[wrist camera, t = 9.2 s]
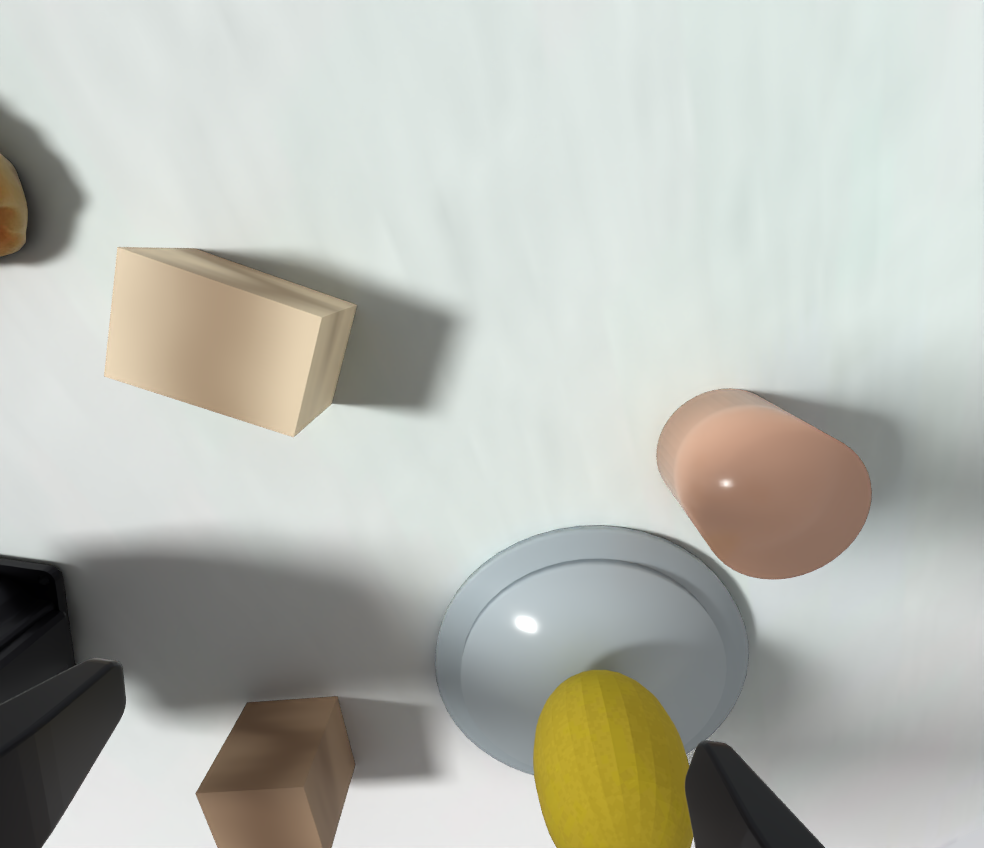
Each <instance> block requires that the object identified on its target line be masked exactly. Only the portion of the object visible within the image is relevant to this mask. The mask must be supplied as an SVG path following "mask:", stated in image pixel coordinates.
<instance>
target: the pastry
mask: <svg viewBox="0 0 984 848" xmlns="http://www.w3.org/2000/svg"><path fill="white" fill-rule="evenodd" d="M27 221H28V208H27V203H26V199H25V195H24V192H23V189H22V186H21V183H20V180H19V177H18V175H17V172H16V170H15V168H14V166H13V165H12V164H11V162H10V161H8V160H7V159H6V158H5V157H4V156H3V155H2V154H1V153H0V257H1V256H5V255H8V254H12V253H15V252H17V251H19V250H20V249H21V248H22V246H23V245H24V244H25V243H26V228H27Z"/></svg>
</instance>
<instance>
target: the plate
mask: <svg viewBox="0 0 984 848" xmlns="http://www.w3.org/2000/svg"><path fill="white" fill-rule="evenodd" d="M748 659H749V654H748V638H747V633H746V628H745V624H744V622H743V619H742V616H741V614H740V611H739V609H738V607H737V605H736V604H735V602H734V600H733V598H732V597H731V595H730V593H729V592H728V590H727V589H726V587H725V586H724V584H723V583H722V582H721V581H720V580H719V578H718V577H717V576H716V575H715V574H714V572H713V571H712V570H711V569H710V568H709V567H707V566H706V565H705V564H704V563H703V562H702V561H701V560H700V559H698V558H697V557H696V556H694V555H693V554H691V553H690V552H688V551H687V550H685V549H684V548H682V547H680V546H678V545H676V544H674V543H672V542H670V541H668V540H666V539H664V538H661V537H658V536H655V535H652V534H649V533H646V532H642V531H638V530H633V529H628V528H623V527H612V526H577V527H571V528H564V529H557V530H553V531H550V532H546V533H542V534H538V535H535V536H533V537H530V538H528V539H525V540H523V541H520V542H518V543H515V544H514V545H512V546H510V547H508V548H506V549H504V550H503V551H501V552H499V553H497V554H496V555H495V556H493V557H492V558H490V559H489V560H488V561H486V562H485V563H484V564H482V565H481V566H480V567H479V568H478V569H477V570H476V571H475V572H474V573H473V574H472V575H470V576H469V577H468V579H467V580H466V581H465V582H464V583H463V585H462V586H461V587H460V588H459V590H458V591H457V592H456V594H455V596H454V597H453V599H452V601H451V602H450V604H449V606H448V608H447V610H446V613H445V615H444V618H443V620H442V623H441V627H440V631H439V636H438V641H437V646H436V659H435V668H436V678H437V683H438V687H439V691H440V695H441V697H442V700H443V702H444V704H445V706H446V709H447V711H448V712H449V714H450V716H451V717H452V719H453V720H454V722H455V723H456V725H457V726H458V727H459V728H460V730H461V731H462V732H463V733H464V734H465V735H466V737H467V738H469V739H470V740H471V741H472V742H473V743H474V744H475V745H476V746H477V747H479V748H480V749H481V750H483V751H484V752H486V753H487V754H488V755H490V756H491V757H493V758H495V759H496V760H498V761H500V762H502V763H504V764H506V765H508V766H510V767H512V768H515V769H517V770H520V771H522V772H525V773H528V774H532V775H534V769H533V751H534V741H535V733H536V726H537V722H538V719H539V716H540V714H541V711H542V709H543V707H544V705H545V703H546V701H547V699H548V698H549V696H550V695H551V694H552V693H553V692H554V690H555V689H556V688H557V687H558V686H559V685H560V684H561V683H562V682H564V681H565V680H567V679H568V678H570V677H571V676H574V675H576V674H579V673H581V672H584V671H590V670H609V671H614V672H618V673H621V674H623V675H625V676H627V677H630V678H632V679H634V680H636V681H637V682H639V683H640V684H641V685H642V686H644V687H645V688H646V689H647V690H649V691H650V692H651V693H652V694H653V695H654V696H655V697H656V698H657V699H658V701H659V702H660V703H661V705H662V706H663V708H664V709H665V711H666V712H667V714H668V715H669V716H670V718H671V720H672V721H673V723H674V725H675V727H676V729H677V731H678V733H679V735H680V738H681V740H682V743H683V746H684V749H685V752H686V754H687V753H689V752H690V751H692V750H693V749H694V748H696V747H697V745H698V743H700V742H701V741H703V740H706V739H707V738H708V737H709V736H710V735H711V734H712V733H714V731H715V730H716V729H717V728H718V727H719V726H720V725H721V723H722V722H723V721H724V720H725V719H726V717H727V716H728V714H729V713H730V711H731V710H732V708H733V707H734V705H735V703H736V701H737V699H738V697H739V695H740V693H741V690H742V687H743V684H744V681H745V677H746V673H747V666H748Z"/></svg>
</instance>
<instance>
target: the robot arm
mask: <svg viewBox="0 0 984 848" xmlns="http://www.w3.org/2000/svg"><path fill="white" fill-rule="evenodd" d="M125 705H126V695H125V685H124V675H123V667H122V665H121V663H120V662H119V661H116V660H109V659H102V658H91V659H87V660H85V661H83V662H81V663H79V664H77V665H75V662H74V655H73V647H72V640H71V633H70V626H69V618H68V611H67V604H66V597H65V589H64V582H63V576H62V573H61V572H60V570H59V569H58V568H56V567H54V566H51V565H46V564H39V563H31V562H24V561H17V560H10V559H3V558H0V848H42V846H43V845H44V843H45V842H46V840H47V839H48V837H49V836H50V835H51V833H52V832H53V830H54V828H55V827H56V825H57V824H58V822H59V821H60V819H61V817H62V816H63V814H64V813H65V811H66V809H67V808H68V806H69V804H70V803H71V801H72V799H73V798H74V796H75V794H76V793H77V791H78V789H79V788H80V786H81V784H82V783H83V781H84V779H85V778H86V776H87V774H88V773H89V771H90V769H91V768H92V766H93V764H94V763H95V761H96V759H97V758H98V756H99V754H100V753H101V751H102V749H103V748H104V746H105V744H106V743H107V741H108V739H109V738H110V736H111V734H112V733H113V731H114V729H115V728H116V726H117V724H118V723H119V721H120V719H121V717H122V715H123V713H124V709H125ZM685 794H686V800H687V805H688V811H689V816H690V821H691V826H692V832H693V837H694V842H695V847H696V848H825V847H824V846H823V845H822V844H821V843H820V842H819V840H818V839H817V838H816V837H815V836H814V835H813V834H812V833H811V832H810V831H809V830H808V829H807V828H806V827H805V826H804V824H803V823H802V822H801V821H800V820H799V819H798V818H797V817H796V816H795V815H794V814H793V813H792V812H791V811H790V809H789V808H788V807H787V806H786V805H785V804H784V803H783V802H782V801H781V800H780V799H779V798H778V797H777V796H776V794H775V793H774V792H773V791H772V790H771V789H770V788H769V787H768V786H767V785H766V784H765V783H764V782H763V781H762V780H761V778H760V777H759V776H758V775H757V774H756V773H755V772H754V771H753V770H752V769H751V768H750V767H749V766H748V765H747V763H746V762H745V761H744V760H743V759H742V758H741V757H740V756H739V755H738V754H737V753H736V752H735V751H734V750H733V749H732V748H731V747H730V746H729V745H727V744H725V743H722V742H714V741H707V740H703V741H701V742H700V743H698V745H697V747H696V750H695V753H694V755H693V758H692V761H691V763H690V766H689V769H688V771H687V774H686V778H685Z"/></svg>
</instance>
